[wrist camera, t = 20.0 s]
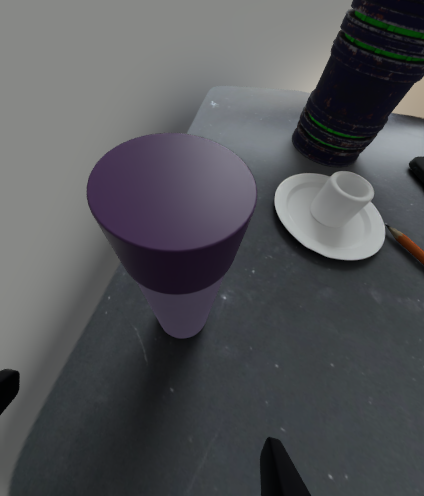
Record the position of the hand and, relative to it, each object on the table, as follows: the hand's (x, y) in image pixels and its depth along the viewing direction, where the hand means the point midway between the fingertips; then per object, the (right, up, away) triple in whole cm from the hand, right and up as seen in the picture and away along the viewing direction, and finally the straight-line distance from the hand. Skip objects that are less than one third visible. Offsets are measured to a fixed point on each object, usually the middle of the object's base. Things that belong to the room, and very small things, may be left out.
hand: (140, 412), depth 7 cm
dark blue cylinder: (+19, +21, +23) cm, 36 cm away
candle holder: (+15, +9, +16) cm, 24 cm away
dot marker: (0, +1, +9) cm, 9 cm away
